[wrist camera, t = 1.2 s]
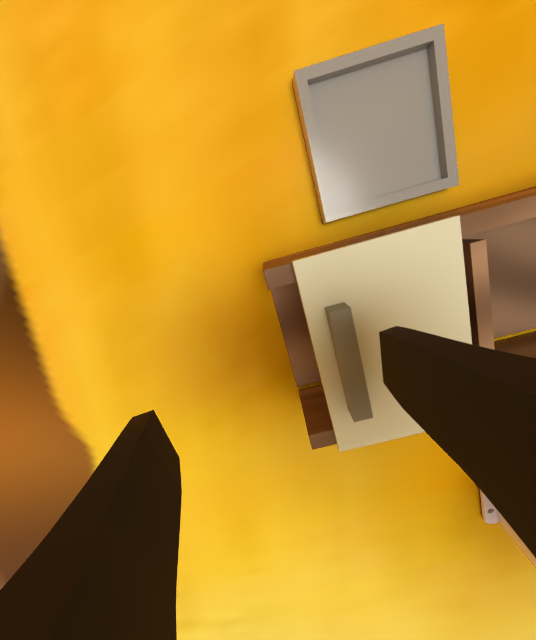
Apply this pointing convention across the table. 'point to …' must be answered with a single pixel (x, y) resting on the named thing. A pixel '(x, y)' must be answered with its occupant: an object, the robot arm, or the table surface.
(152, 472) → the robot arm
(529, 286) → the brown cabinet
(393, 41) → the slate tray
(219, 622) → the table surface
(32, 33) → the table surface
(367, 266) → the cream cabinet door
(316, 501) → the table surface
